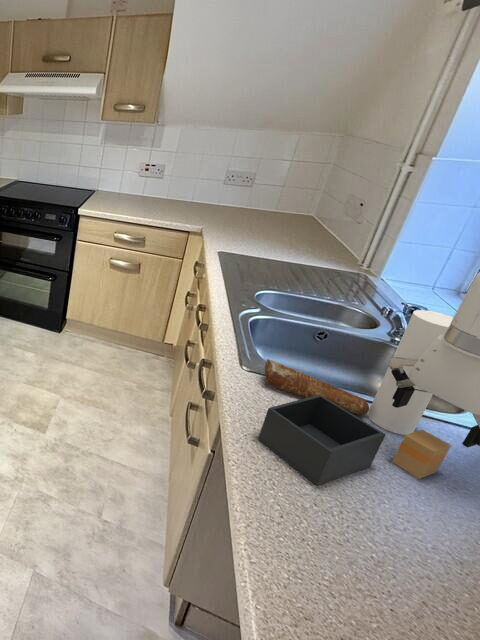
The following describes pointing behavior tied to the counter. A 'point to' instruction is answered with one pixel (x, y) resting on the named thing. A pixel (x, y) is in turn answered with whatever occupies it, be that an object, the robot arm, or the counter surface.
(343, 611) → the counter surface
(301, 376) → the bread
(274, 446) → the bin
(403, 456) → the carton
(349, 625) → the counter surface
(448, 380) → the robot arm
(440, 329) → the cylindrical container
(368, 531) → the counter surface
